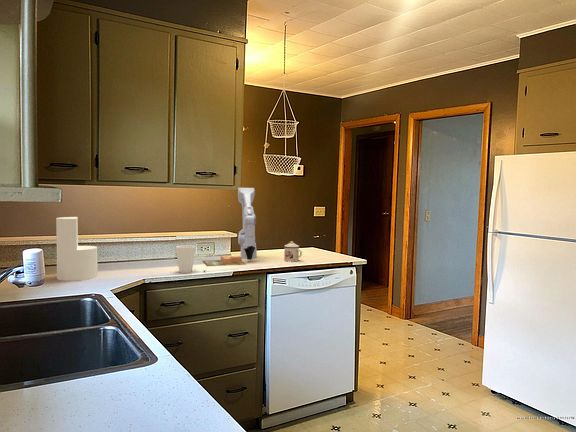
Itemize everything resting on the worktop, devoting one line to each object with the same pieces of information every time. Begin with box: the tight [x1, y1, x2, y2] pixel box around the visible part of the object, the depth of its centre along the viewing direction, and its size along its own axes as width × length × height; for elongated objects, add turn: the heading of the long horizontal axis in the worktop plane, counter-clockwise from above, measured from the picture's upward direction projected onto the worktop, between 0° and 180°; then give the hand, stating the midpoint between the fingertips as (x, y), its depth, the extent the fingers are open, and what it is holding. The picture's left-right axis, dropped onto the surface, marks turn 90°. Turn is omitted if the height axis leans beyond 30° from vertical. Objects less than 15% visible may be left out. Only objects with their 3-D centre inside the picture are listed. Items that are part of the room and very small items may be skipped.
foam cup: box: [175, 244, 196, 274], centre depth 227 cm, size 10×9×13 cm
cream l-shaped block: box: [55, 216, 99, 282], centre depth 209 cm, size 17×17×28 cm
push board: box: [201, 259, 247, 267], centre depth 251 cm, size 22×20×1 cm
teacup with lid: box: [283, 241, 303, 262], centre depth 268 cm, size 12×9×12 cm
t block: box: [220, 255, 243, 264], centre depth 253 cm, size 10×12×3 cm
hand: (249, 259), depth 256 cm, fingers closed
